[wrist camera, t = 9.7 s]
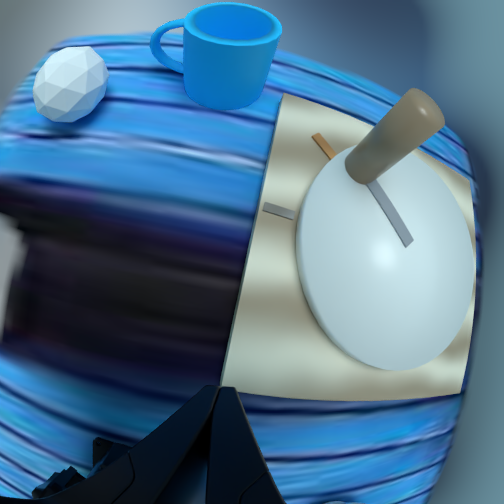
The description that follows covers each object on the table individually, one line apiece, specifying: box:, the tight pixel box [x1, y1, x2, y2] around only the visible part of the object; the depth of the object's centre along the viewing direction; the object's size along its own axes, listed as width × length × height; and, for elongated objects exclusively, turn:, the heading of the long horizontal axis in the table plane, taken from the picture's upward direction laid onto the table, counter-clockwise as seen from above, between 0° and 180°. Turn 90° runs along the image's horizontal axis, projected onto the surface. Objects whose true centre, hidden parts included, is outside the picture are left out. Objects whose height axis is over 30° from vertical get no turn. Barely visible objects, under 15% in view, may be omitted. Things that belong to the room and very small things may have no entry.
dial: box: [296, 88, 474, 371], centre depth 17 cm, size 20×20×10 cm
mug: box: [150, 2, 282, 110], centre depth 20 cm, size 12×8×8 cm
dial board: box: [220, 93, 476, 401], centre depth 23 cm, size 26×26×2 cm
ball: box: [33, 47, 109, 122], centre depth 18 cm, size 8×8×8 cm
